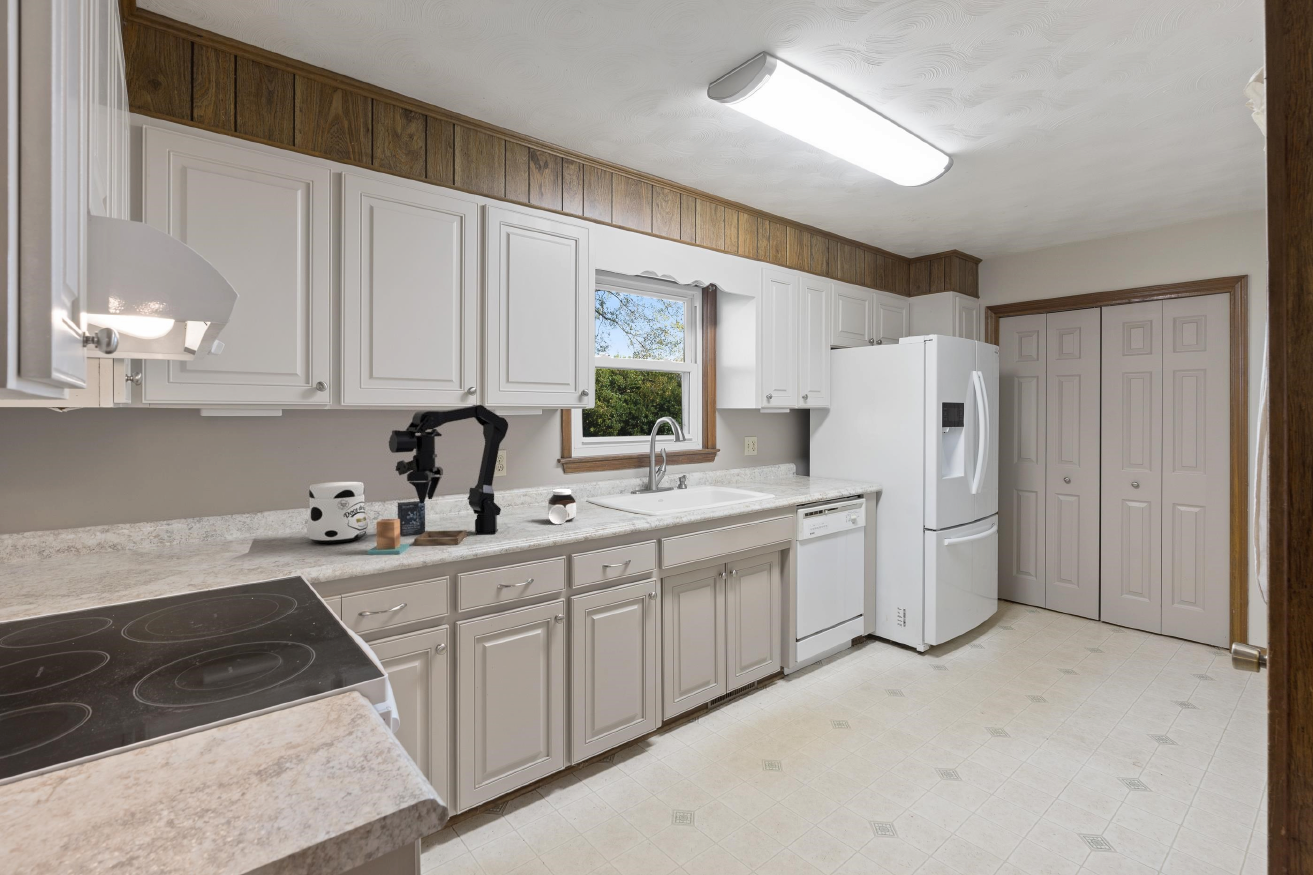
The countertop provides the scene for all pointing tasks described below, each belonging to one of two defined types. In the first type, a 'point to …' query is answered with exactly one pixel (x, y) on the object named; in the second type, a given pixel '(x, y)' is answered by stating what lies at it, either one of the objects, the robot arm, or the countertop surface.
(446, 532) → the pocket frame
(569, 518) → the spread jar
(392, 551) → the plate
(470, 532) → the countertop surface
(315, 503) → the milk container
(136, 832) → the countertop surface
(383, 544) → the block
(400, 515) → the box
